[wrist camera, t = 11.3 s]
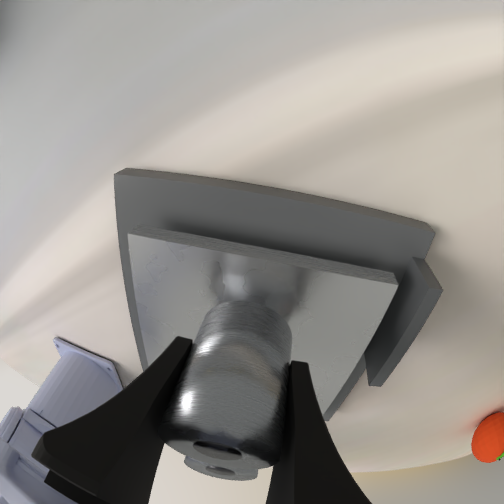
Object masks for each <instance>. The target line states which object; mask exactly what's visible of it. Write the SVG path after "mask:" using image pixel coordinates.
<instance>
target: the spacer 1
mask: <svg viewBox="0 0 504 504" xmlns="http://www.w3.org/2000/svg"><path fill="white" fill-rule="evenodd" d="M291 350H292V332H291V329H290V327H289V325H288V323H287V322H286V320H285V319H284V318H283V317H282V316H281V315H280V314H278V313H277V312H275V311H274V310H272V309H270V308H269V307H266V306H264V305H261V304H258V303H255V302H250V301H229V302H224V303H221V304H219V305H217V306H215V307H213V308H212V309H210V310H209V311H208V312H207V314H206V315H205V317H204V319H203V321H202V324H201V326H200V328H199V331H198V333H197V335H196V338H195V340H194V343H193V345H192V347H191V350H190V352H189V355H188V357H187V359H186V362H185V364H184V367H183V369H182V371H181V374H180V376H179V379H178V381H177V384H176V386H175V389H174V391H173V393H172V396H171V398H170V401H169V403H168V406H167V408H166V411H165V413H164V416H163V418H162V421H161V423H160V426H159V428H158V434H159V436H160V438H161V439H162V440H163V441H164V442H165V443H166V444H167V445H168V446H170V447H171V448H173V449H174V450H176V451H178V452H180V453H181V454H184V455H186V456H188V457H190V458H193V459H195V460H198V461H201V462H204V463H207V464H211V465H215V466H220V467H225V468H232V469H261V468H267V467H270V466H273V465H275V464H277V463H278V462H279V461H280V456H281V449H282V441H283V432H284V424H285V414H286V405H287V395H288V382H289V371H290V362H291Z"/></svg>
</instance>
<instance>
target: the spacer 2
mask: <svg viewBox="0 0 504 504" xmlns="http://www.w3.org/2000/svg"><path fill="white" fill-rule="evenodd" d="M184 463H185V464H186V465H187V466H188V467H190V468H191V469H193V470H195V471H198V472H200V473H203V474H205V475H209V476H212V477H216V478H221V479H228V480H241V481H244V480H252V479H255V478H256V477H257V475H258V469H232V468H225V467H220V466H215V465H211V464H207V463H204V462H201V461H198V460H195V459H193V458H190V457H188V456H186V457H185V460H184Z"/></svg>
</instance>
